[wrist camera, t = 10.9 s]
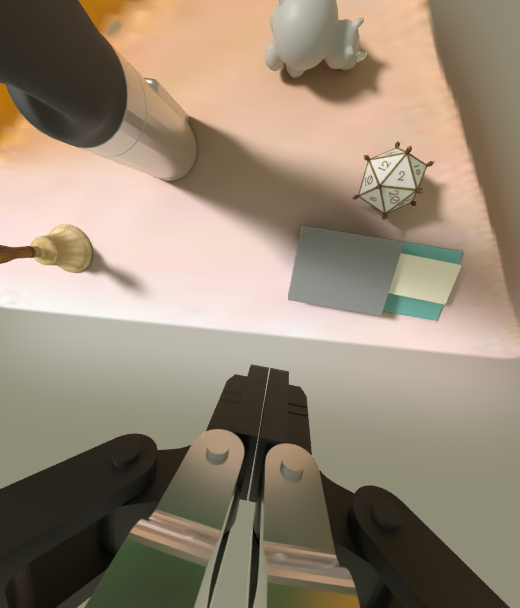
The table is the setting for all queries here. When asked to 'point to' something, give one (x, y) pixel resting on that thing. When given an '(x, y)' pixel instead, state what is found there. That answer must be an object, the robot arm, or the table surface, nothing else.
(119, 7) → the table surface
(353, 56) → the round bodied animal figurine
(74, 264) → the hand bell
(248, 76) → the table surface
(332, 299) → the gray board
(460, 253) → the teal mat
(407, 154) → the game die
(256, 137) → the table surface
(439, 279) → the ivory tile
